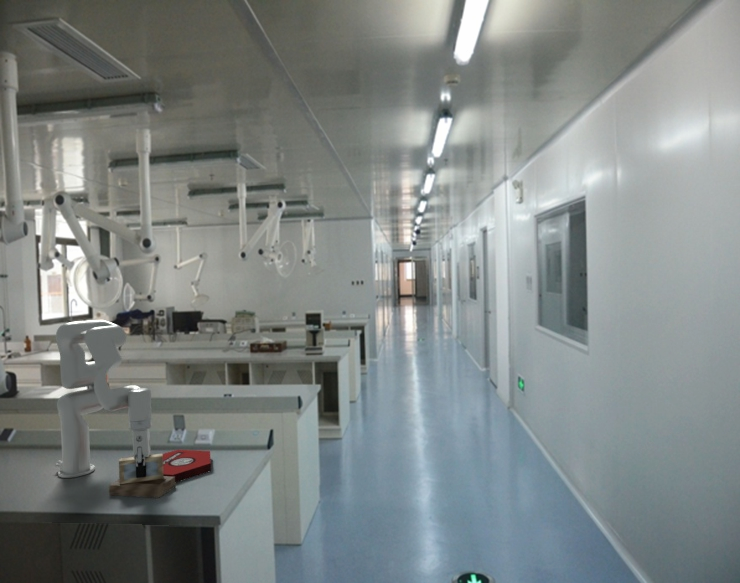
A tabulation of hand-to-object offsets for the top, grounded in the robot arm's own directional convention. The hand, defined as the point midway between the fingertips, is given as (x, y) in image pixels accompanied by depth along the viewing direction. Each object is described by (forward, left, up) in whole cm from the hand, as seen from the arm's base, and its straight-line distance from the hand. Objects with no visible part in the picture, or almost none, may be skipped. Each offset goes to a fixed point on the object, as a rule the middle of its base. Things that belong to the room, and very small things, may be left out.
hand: (141, 474), depth 182 cm
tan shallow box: (0, 0, -6) cm, 6 cm away
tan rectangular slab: (0, 0, -2) cm, 2 cm away
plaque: (0, +21, -6) cm, 22 cm away
